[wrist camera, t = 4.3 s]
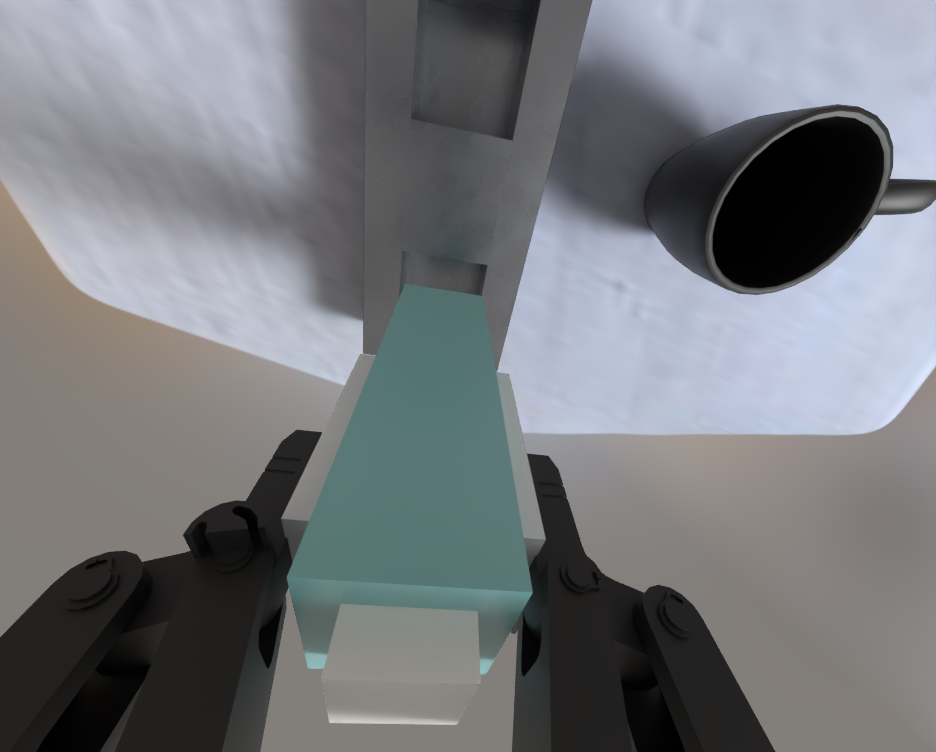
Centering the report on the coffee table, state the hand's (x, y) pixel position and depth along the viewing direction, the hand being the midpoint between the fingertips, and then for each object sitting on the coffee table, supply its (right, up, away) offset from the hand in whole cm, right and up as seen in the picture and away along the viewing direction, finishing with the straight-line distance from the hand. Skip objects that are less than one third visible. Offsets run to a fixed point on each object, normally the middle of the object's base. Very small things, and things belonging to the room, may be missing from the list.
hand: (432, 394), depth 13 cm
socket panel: (0, +14, +11) cm, 17 cm away
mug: (+19, +14, +11) cm, 26 cm away
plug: (0, +3, +5) cm, 6 cm away
